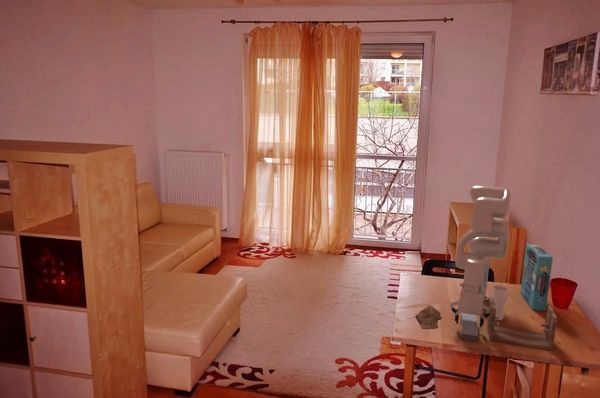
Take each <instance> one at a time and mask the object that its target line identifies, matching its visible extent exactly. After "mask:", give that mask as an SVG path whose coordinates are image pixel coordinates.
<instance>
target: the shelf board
mask: <svg viewBox="0 0 600 398" xmlns="http://www.w3.org/2000/svg"><path fill="white" fill-rule="evenodd" d="M460 319H461V322H460V324H461V323H462V324H461V331H462V334H467V335H473V336H477V337H478V335H479V328H478V327H479V326H478V320H477V319H478V318H477V315H472V314H465V313H461V312H460Z"/></svg>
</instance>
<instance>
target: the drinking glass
mask: <svg viewBox="0 0 600 398" xmlns="http://www.w3.org/2000/svg"><path fill="white" fill-rule="evenodd" d="M508 295H509V288H508V287H507V286H504V285H502V284H501V285H500V284H495V285H492V287H491V295H490V299H491V298H494V302H495V306H496V316H495V317H498V320H496V319H495V321H502V320H504V316H505V315H504V314H505V310H506V306H507V302H508V301H507V300H508Z"/></svg>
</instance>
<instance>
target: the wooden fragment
mask: <svg viewBox="0 0 600 398" xmlns="http://www.w3.org/2000/svg"><path fill="white" fill-rule="evenodd" d="M441 314H442V313H441V312H440V311H439V310H437V309H436V308H435V307H434V306H432V305H430V304H429V305H427V306H426V307H425V308H423V309H422V310H421V311H419V312H418V313H417V314H415V318H416V319H417V320H418V323H419V325H420V326H421V327H422V328H421V329H422V330H424V329H425V330H427V329H428V330H431V329H437V328H438V329H439V326H438V322H439V321H438V320H440V319H442V316H441Z"/></svg>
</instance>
